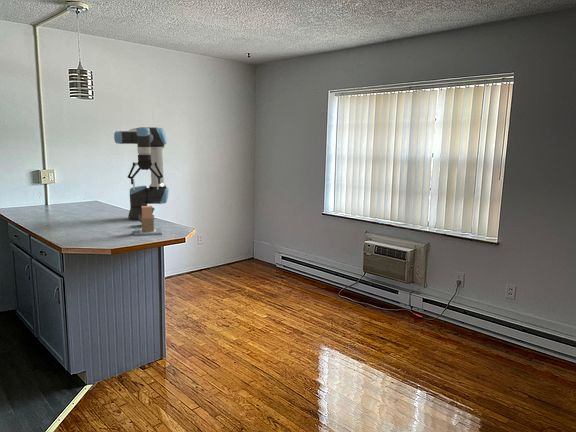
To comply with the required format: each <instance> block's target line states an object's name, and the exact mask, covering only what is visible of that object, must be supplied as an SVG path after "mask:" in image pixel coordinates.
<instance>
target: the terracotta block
mask: <svg viewBox="0 0 576 432" xmlns="http://www.w3.org/2000/svg"><path fill="white" fill-rule="evenodd" d="M152 207H153V205H147V206H142V219H153V216H152V215H153V214H152Z"/></svg>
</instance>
